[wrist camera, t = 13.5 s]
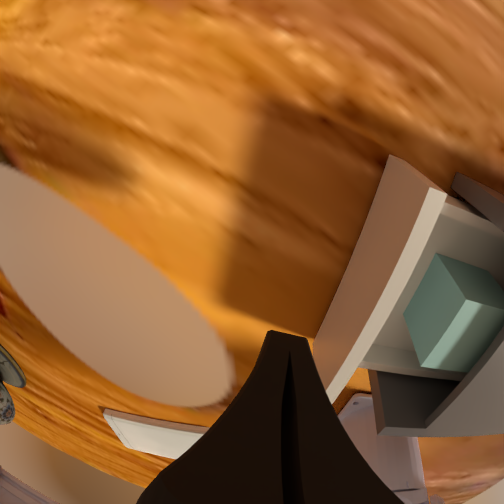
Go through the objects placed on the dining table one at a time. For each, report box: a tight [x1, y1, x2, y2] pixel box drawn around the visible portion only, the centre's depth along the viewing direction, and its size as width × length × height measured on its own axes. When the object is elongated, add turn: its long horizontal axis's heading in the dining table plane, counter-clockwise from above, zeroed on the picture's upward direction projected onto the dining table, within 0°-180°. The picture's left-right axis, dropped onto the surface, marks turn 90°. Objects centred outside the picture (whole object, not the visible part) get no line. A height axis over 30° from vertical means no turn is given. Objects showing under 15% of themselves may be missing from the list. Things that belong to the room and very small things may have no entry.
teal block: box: [403, 253, 504, 373], centre depth 15 cm, size 4×4×4 cm
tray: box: [313, 154, 504, 404], centre depth 15 cm, size 13×17×6 cm
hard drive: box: [103, 408, 209, 459], centre depth 32 cm, size 2×8×12 cm
